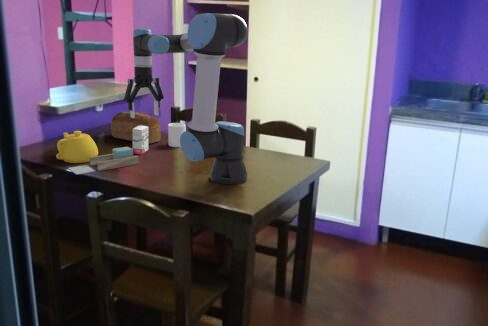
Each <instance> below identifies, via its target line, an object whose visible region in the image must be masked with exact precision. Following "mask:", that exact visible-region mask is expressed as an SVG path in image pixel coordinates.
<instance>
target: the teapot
mask: <svg viewBox="0 0 488 326" xmlns="http://www.w3.org/2000/svg"><path fill="white" fill-rule="evenodd" d="M56 148H57V151H58V153H57V154H56V159H57V160H62V161H64V162H65V163H68V162H69V164H84V163H90V157H94V156H99V149H98V145H97V144H96V142H95V141H94V139H93V138H92V137H91V135H89V134H87V133H82V130H74V131H73V133H71V134H69V133H68V132H63V138H61V139H59V140H58V141H57V143H56Z"/></svg>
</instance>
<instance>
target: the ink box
mask: <svg viewBox="0 0 488 326" xmlns="http://www.w3.org/2000/svg"><path fill="white" fill-rule="evenodd" d="M132 149H133V154H137V155H142V154H144V153H146V152H147V151H149V144H148V126H137V127H135V128H133V141H132Z"/></svg>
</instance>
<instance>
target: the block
mask: <svg viewBox="0 0 488 326" xmlns="http://www.w3.org/2000/svg"><path fill="white" fill-rule="evenodd" d="M111 151H112V154H113V159H119V158H126V157H132V156H134V153H133V148H131V147H129V146H123V147H116V148H112V149H111Z"/></svg>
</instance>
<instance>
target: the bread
mask: <svg viewBox="0 0 488 326" xmlns="http://www.w3.org/2000/svg"><path fill="white" fill-rule="evenodd" d="M137 126H148V145H149V144H154V143H157V142H159V141H160V140H161V122H160V120H159V119H158V118H157V117H154V116H153V115H151V114H148V113H143V112H139V111H135V118H131V115H130V111H119V112H117V113H116V114H115V115H114V116H113V117H112V118H111V121H110V131H111V136H113V138H116V139H121V140H126V141H130V142H133V128H135V127H137Z"/></svg>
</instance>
